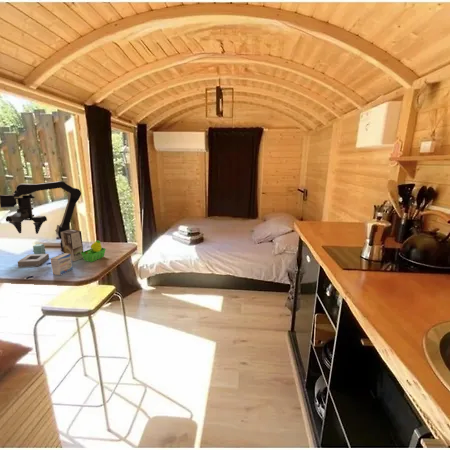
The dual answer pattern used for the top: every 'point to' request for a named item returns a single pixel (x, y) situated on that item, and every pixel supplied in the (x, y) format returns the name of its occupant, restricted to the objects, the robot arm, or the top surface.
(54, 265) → the medicine box
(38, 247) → the block
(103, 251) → the fruit basket
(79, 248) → the coffee box
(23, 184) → the robot arm
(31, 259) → the pocket plate
